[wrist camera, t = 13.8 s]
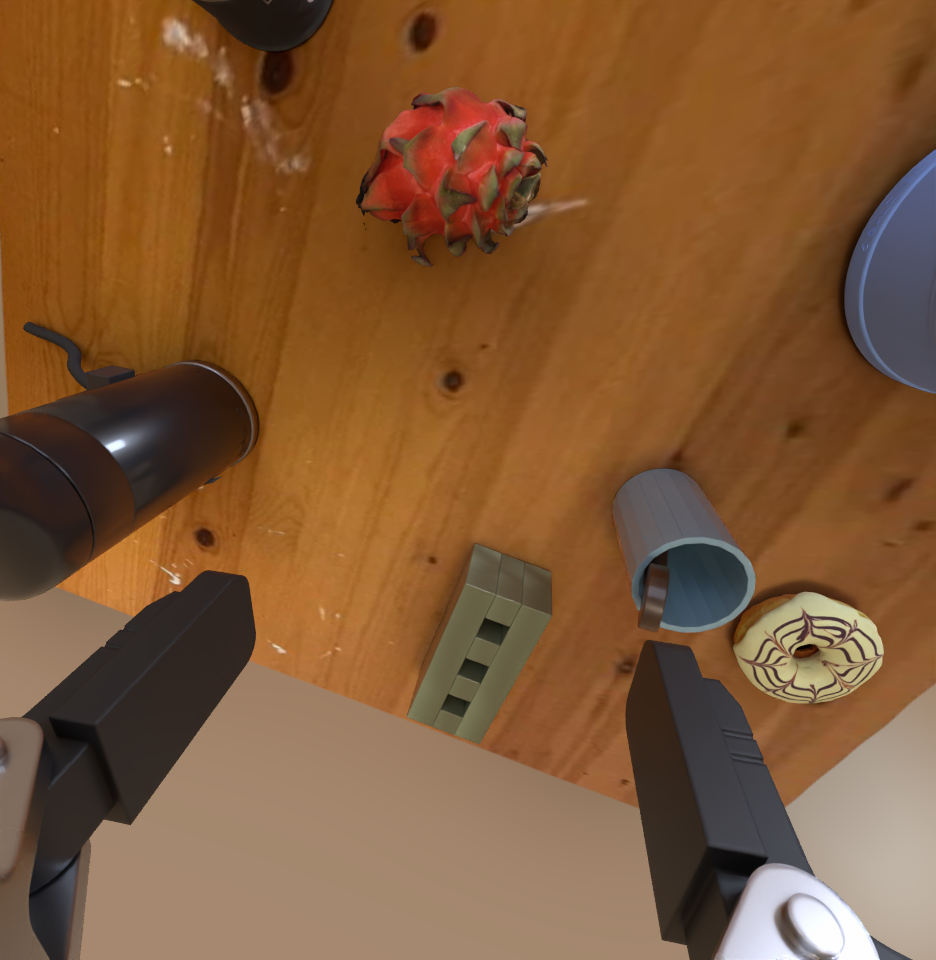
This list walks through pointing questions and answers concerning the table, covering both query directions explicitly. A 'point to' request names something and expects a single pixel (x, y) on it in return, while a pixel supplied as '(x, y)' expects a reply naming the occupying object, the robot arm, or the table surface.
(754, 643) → the decorated donut
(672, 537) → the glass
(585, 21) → the table surface
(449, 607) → the stand
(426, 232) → the dragon fruit
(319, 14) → the milk frother
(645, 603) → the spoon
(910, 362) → the water jug
